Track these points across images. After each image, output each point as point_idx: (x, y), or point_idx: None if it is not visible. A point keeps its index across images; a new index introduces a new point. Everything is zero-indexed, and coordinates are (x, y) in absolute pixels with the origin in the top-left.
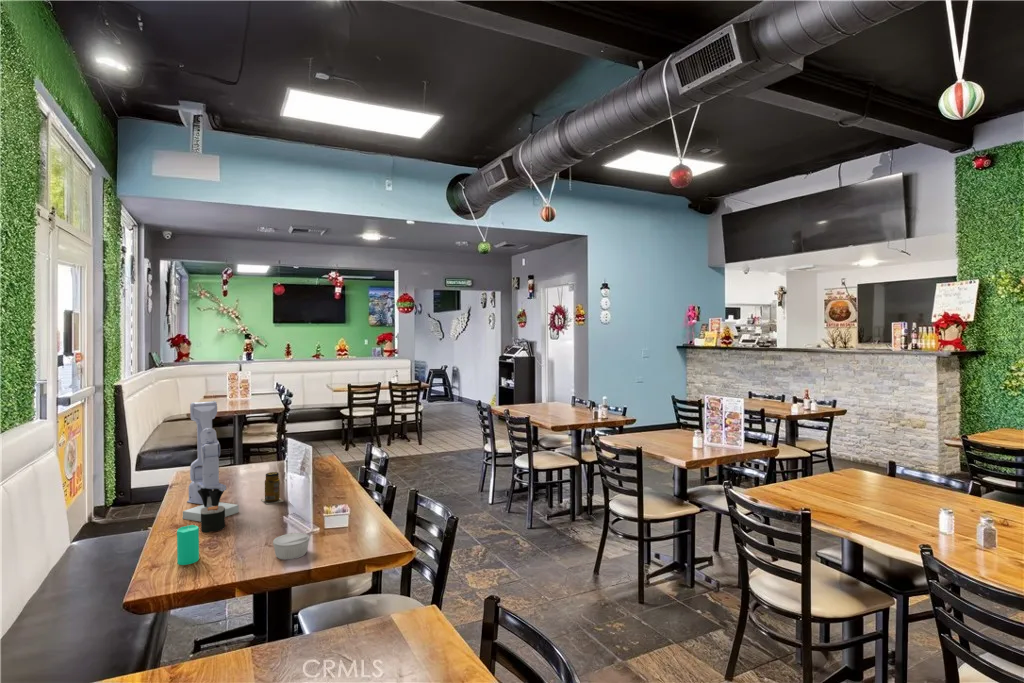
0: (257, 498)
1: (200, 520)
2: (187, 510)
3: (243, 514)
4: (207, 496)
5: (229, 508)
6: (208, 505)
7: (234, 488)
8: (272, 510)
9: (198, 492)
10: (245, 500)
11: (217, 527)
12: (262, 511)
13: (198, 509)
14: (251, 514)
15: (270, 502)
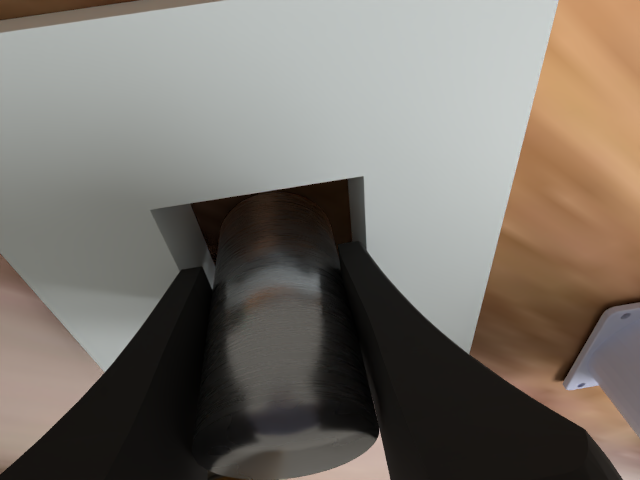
0: (347, 464)
1: (109, 5)
2: (507, 34)
3: (54, 351)
4: (298, 401)
5: (91, 351)
6: (259, 270)
7: None
8: (10, 450)
9: (548, 427)
10: (379, 435)
11: None
12: (34, 423)
13: (372, 160)
14: (2, 375)
15: (208, 475)
